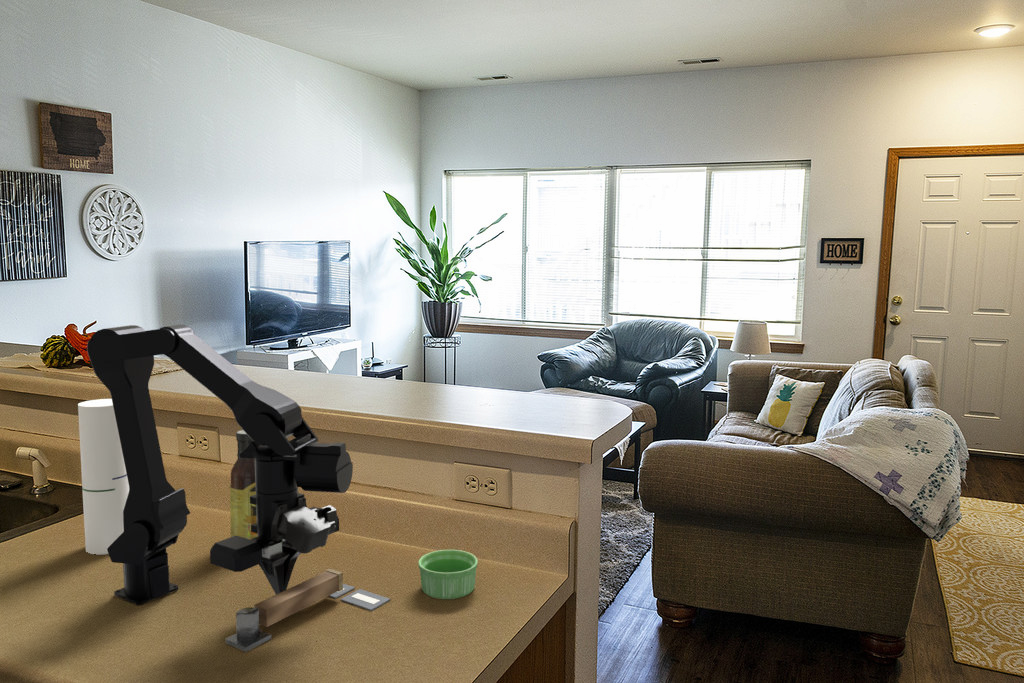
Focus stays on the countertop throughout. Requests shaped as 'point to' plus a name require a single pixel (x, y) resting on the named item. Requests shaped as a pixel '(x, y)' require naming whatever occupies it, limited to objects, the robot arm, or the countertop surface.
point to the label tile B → (365, 599)
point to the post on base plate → (247, 630)
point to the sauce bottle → (242, 492)
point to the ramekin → (448, 573)
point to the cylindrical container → (101, 475)
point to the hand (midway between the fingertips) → (280, 594)
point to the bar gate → (299, 597)
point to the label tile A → (342, 591)
